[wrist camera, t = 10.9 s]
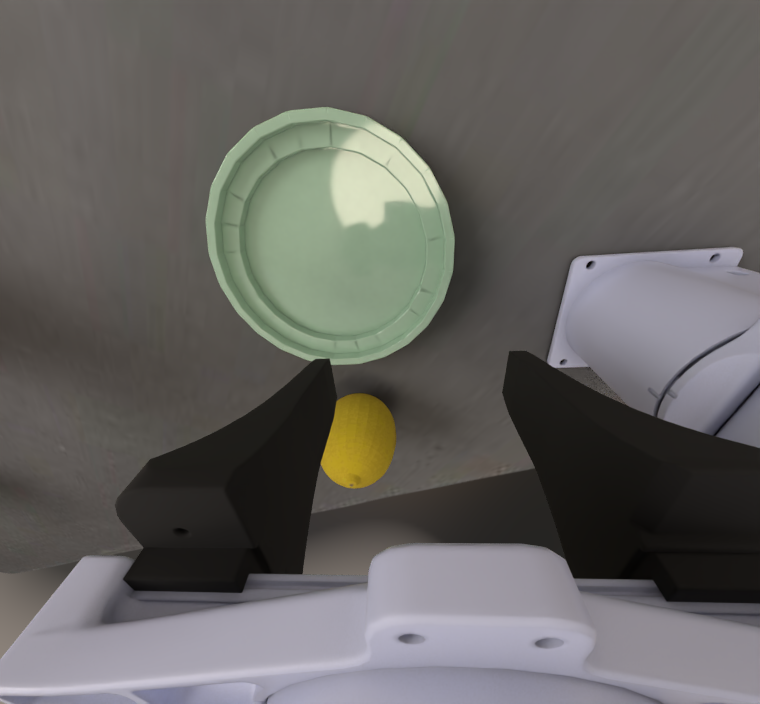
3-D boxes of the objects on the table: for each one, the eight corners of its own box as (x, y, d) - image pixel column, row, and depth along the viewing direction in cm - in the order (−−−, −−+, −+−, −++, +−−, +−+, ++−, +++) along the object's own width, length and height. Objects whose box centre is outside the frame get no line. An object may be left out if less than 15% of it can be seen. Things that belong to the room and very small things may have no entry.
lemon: (373, 433, 27) (366, 521, 20) (318, 406, 26) (291, 491, 19) (409, 393, 25) (414, 478, 18) (350, 361, 23) (331, 440, 17)
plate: (454, 102, 15) (462, 92, 13) (444, 345, 22) (448, 361, 20) (189, 128, 16) (162, 123, 14) (260, 352, 23) (248, 368, 21)
